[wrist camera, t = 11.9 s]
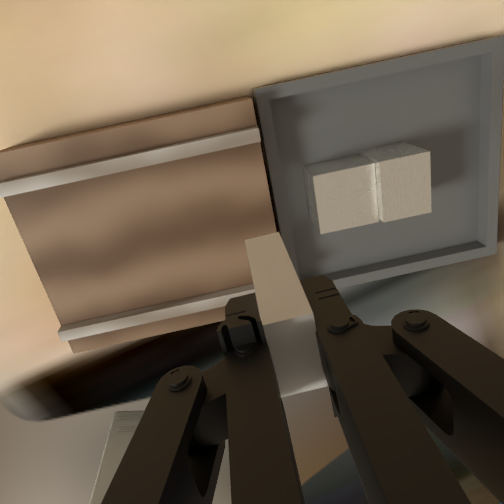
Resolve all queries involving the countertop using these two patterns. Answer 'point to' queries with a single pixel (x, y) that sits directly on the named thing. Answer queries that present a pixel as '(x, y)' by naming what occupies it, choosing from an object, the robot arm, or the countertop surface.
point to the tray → (385, 133)
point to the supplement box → (114, 450)
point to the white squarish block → (341, 193)
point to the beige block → (401, 180)
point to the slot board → (142, 220)
